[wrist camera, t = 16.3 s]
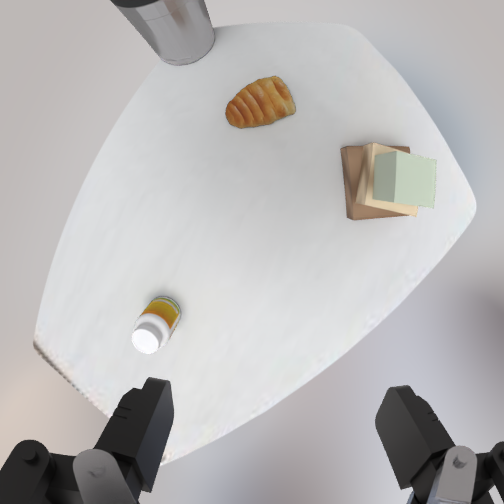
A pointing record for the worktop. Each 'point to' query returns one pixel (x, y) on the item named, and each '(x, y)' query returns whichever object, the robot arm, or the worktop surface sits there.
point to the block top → (367, 182)
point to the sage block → (404, 179)
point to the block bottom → (351, 181)
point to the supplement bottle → (155, 325)
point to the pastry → (260, 103)
